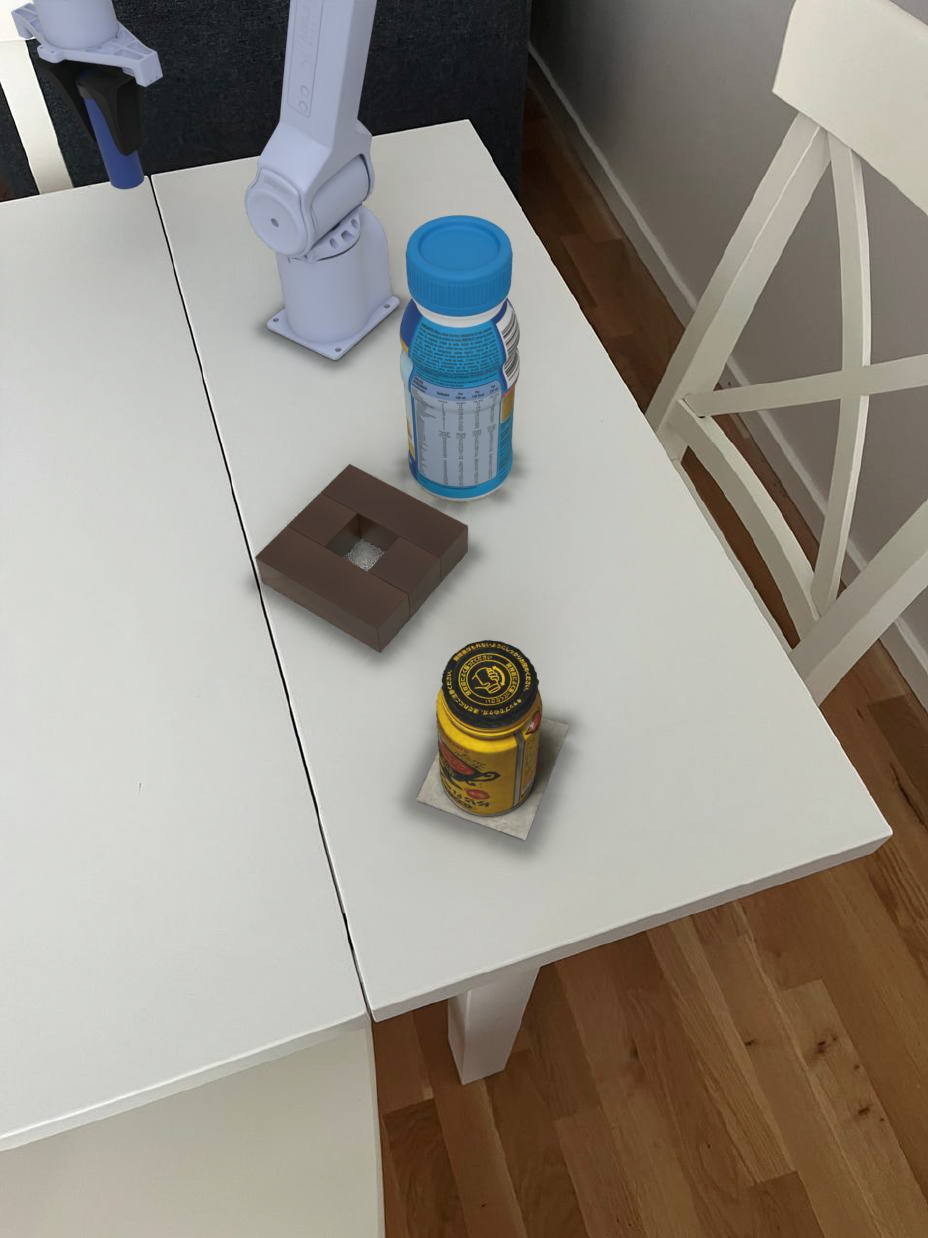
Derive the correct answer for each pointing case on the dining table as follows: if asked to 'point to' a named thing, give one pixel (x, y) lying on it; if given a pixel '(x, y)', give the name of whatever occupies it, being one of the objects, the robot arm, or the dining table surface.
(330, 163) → the robot arm
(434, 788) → the condiment
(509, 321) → the beverage bottle
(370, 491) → the holder
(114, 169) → the blue cylinder
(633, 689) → the dining table surface
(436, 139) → the dining table surface
